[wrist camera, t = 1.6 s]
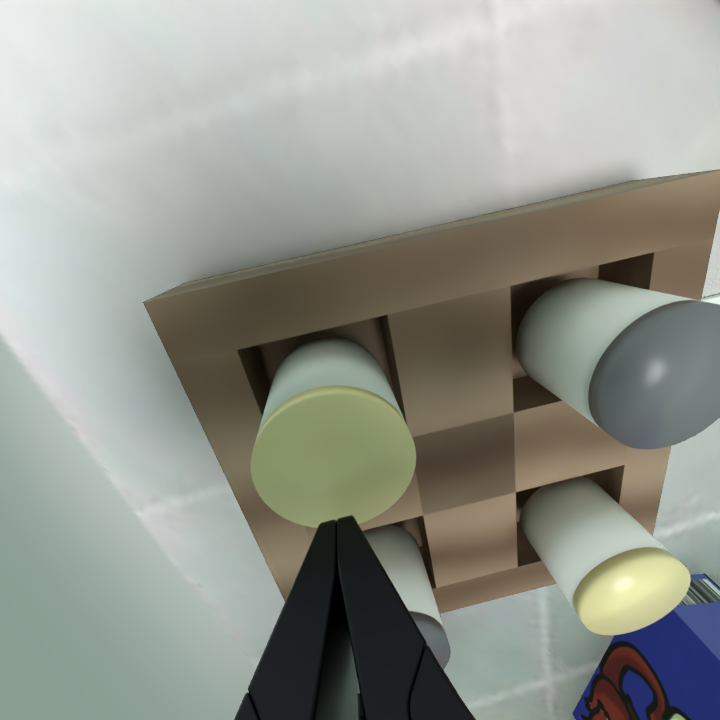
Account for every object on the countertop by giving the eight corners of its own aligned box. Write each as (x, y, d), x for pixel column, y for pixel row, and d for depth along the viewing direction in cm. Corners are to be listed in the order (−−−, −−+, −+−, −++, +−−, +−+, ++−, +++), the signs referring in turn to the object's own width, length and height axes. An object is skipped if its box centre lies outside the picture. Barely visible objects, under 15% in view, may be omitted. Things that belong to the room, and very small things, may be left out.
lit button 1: (598, 530, 20) (680, 619, 16) (520, 550, 20) (579, 645, 16) (606, 466, 19) (700, 547, 14) (518, 488, 18) (585, 577, 14)
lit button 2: (394, 424, 16) (425, 507, 11) (290, 449, 16) (279, 544, 11) (375, 325, 14) (403, 376, 9) (256, 353, 14) (225, 419, 9)
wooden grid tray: (599, 509, 25) (647, 559, 21) (308, 583, 24) (307, 648, 21) (634, 180, 16) (727, 168, 13) (184, 283, 16) (143, 302, 12)
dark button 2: (424, 574, 20) (455, 678, 16) (343, 595, 20) (350, 706, 15) (412, 515, 18) (444, 614, 14) (322, 537, 18) (323, 645, 14)
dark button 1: (616, 370, 16) (735, 429, 12) (516, 395, 16) (596, 464, 11) (628, 265, 14) (777, 287, 10) (514, 292, 14) (610, 326, 9)
